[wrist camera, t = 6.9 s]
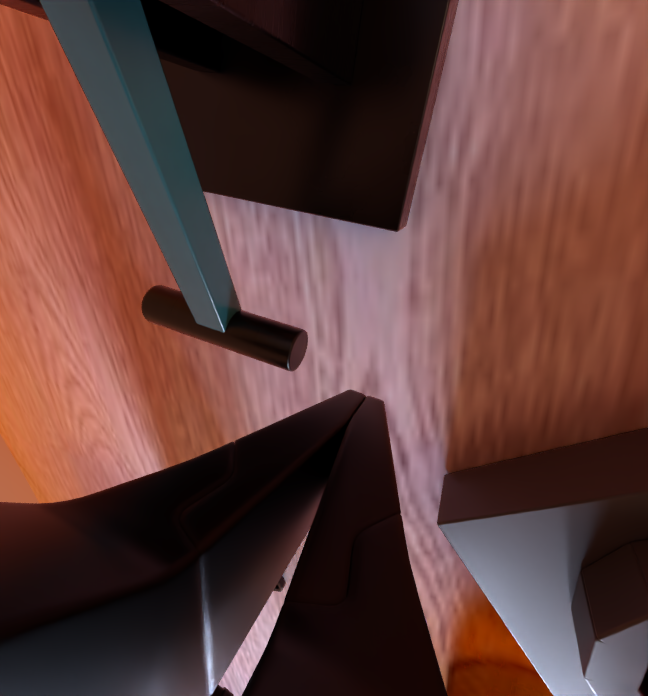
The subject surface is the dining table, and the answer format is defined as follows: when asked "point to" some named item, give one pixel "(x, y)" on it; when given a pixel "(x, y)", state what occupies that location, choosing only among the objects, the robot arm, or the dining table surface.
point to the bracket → (304, 97)
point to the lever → (163, 178)
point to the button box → (563, 558)
